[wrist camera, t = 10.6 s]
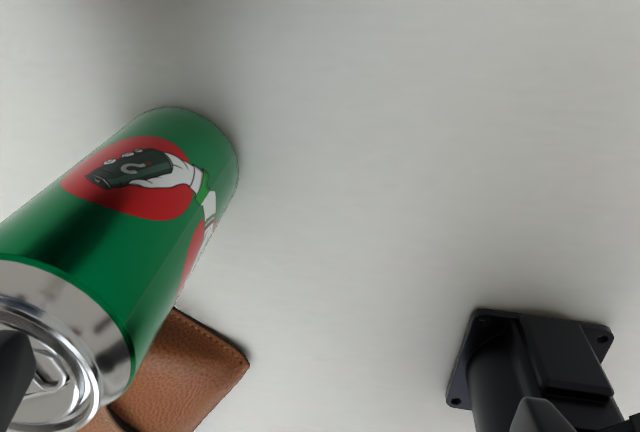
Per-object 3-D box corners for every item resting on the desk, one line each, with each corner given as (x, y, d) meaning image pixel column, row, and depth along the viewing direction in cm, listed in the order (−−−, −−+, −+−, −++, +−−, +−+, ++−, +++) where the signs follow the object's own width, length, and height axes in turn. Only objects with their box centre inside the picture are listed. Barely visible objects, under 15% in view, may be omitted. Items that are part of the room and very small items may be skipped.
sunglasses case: (140, 510, 35) (46, 587, 29) (85, 429, 37) (-14, 486, 31) (260, 357, 26) (159, 424, 21) (179, 263, 28) (67, 300, 23)
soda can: (105, 119, 21) (-164, 306, 10) (215, 88, 20) (35, 264, 9) (157, 221, 23) (-21, 458, 13) (258, 198, 22) (153, 438, 12)
